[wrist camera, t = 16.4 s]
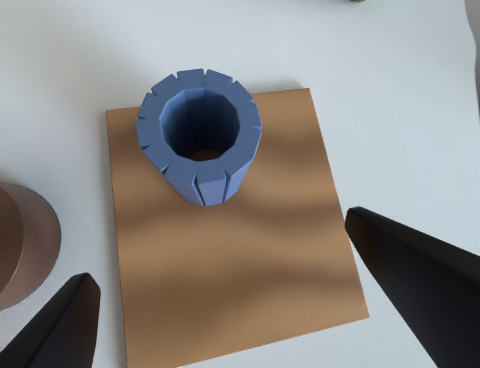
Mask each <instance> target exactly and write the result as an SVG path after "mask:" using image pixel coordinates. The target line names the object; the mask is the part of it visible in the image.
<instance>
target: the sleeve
mask: <svg viewBox="0 0 480 368" xmlns="http://www.w3.org/2000/svg"><path fill="white" fill-rule="evenodd" d="M177 77H178V79H177V78H176V77H175V76H174V75H173V74H171V75H169V76H168V77H166V78H165V79H164V80H162V81H161V82H159V83H158V84H156V85H155V86H153V87H152V88H151V90H152V92H153V94H151V93H147V94H146V96H145V99H144V101H143V103H142V105H141V107H140V109H139V111H138V113H137V116H138V118H139V119H140V120H136V121H135V122H136V129H137V136H138V143H139V147H140V148H141V149H142V150H143V151H142V153H143V154H144V155H145V156H146V158H147V159H148V160H149V161H150V162H151V163H152V165H153V166H154V167H155V168H156V169H157V170H158V171H159V173H160V174H161V175H162V176H163V177H164V178H165V179H166V180H167V181H168V182H169V183H170V184H171V185H172V187H173V188H174V189H175V190H176V191H177V192H178V193H179V194H180V195H181V196H182V197H183V198H184V199H186V200H187V201H188V202H191V203H194V204H197V205H200V206H203V205H204V203H205V206H211V205H216V204H221V203H222V200H223V201H224V202H225V201H226V200H228V199H229V198H230V197H231V196H232V195H233V194H234V193H236V191H237V189H238V188H239V186H240V184H241V182H242V180H243V178H244V176H245V174H246V172H247V170H248V168H249V166H250V164H251V162H252V160H253V158H254V156H255V154H256V151H257V147H258V144H259V141H260V138H261V135H262V132H261V129H262V123H261V119H260V115H259V111H258V107H257V104H256V103H253V101H254V98H253V97H252V96H251V95H250V94H249V93H248V92H247V91H246V89H245V88H244V87H243V86H242V85H241V84H240V83H239V82H238V81H235V82H234V83H233V84H232V81H233V78H232V77H229V76H227V75H224V74H221V73H218V72H215V71H212V70H209V69H208V70H207V73H206V75H205V74H204V70H203V69H195V70H187V71H178V72H177ZM206 149H211V150H214V151H216V152H219V153H221V154H222V155H221V156H220V157H219V158H216V159H211V160H205V161H199V162H196V161H193V160H190V159H188V158H189V157H190V156H191V155H193V154H194V153H195V152H197V151H200V150H206Z"/></svg>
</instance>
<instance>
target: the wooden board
mask: <svg viewBox="0 0 480 368" xmlns="http://www.w3.org/2000/svg"><path fill="white" fill-rule="evenodd" d="M251 96H252V97H253V98H254V101H253V103H256V104H257V107H258V111H259V115H260V119H261V123H262V129H261V132H262V135H261V138H260V141H259V144H258V147H257V151H256V154H255V156H254V158H253V160H252V162H251V164H250V166H249V168H248V170H247V172H246V174H245V176H244V178H243V180H242V182H241V184H240V186H239V188H238V189H237V191H236V193H234V194H233V195H232V196H231V197H230V198H229V199H228V200H226V201H225V202H224V201H223V200H222V203H221V204H216V205H211V206H205V203H204V205H203V206H200V205H197V204H194V203H191V202H188V201H187V200H186V199H184V198H183V197H182V196H181V195H180V194H179V193H178V192H177V191H176V190H175V189H174V188H173V187H172V185H171V184H170V183H169V182H168V181H167V180H166V179H165V178H164V177H163V176H162V175H161V174H160V173H159V171H158V170H157V169H156V168H155V167H154V166H153V165H152V163H151V162H150V161H149V160H148V159H147V158H146V156H145V155H144V154H143V153H142V151H143V150H142V149H141V148H140V147H139V143H138V136H137V129H136V122H135V121H136V120H140V119H139V118H138V116H137V113H138V111H139V109H140V107H134V108H125V109H116V110H107V111H106V116H107V128H108V140H109V152H110V164H111V176H112V188H113V200H114V212H115V224H116V236H117V248H118V260H119V273H120V285H121V297H122V309H123V321H124V333H125V345H126V357H127V368H176V367H180V366H184V365H188V364H192V363H196V362H200V361H203V360H207V359H211V358H215V357H219V356H223V355H227V354H231V353H235V352H238V351H242V350H246V349H250V348H254V347H258V346H262V345H266V344H269V343H273V342H277V341H281V340H285V339H289V338H293V337H297V336H301V335H304V334H308V333H312V332H316V331H320V330H324V329H328V328H332V327H335V326H339V325H343V324H347V323H351V322H355V321H359V320H363V319H366V318H370V316H369V312H368V308H367V305H366V301H365V297H364V293H363V289H362V286H361V282H360V278H359V274H358V271H357V267H356V263H355V259H354V255H353V252H352V248H351V244H350V240H349V237H348V234H347V232H346V230H345V221H344V218H343V214H342V210H341V206H340V203H339V199H338V195H337V191H336V187H335V184H334V180H333V176H332V172H331V169H330V165H329V161H328V157H327V153H326V150H325V146H324V142H323V138H322V135H321V131H320V127H319V123H318V119H317V116H316V112H315V108H314V104H313V100H312V97H311V93H310V89H309V88H306V89H297V90H288V91H279V92H270V93H261V94H252V95H251ZM221 155H222V154H221V153H219V152H216V151H214V150H211V149H206V150H200V151H197V152H195V153H194V154H193V155H191V156H190V157H189V158H188V159H190V160H193V161H196V162H199V161H205V160H211V159H216V158H219V157H220V156H221Z"/></svg>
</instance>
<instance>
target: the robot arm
mask: <svg viewBox="0 0 480 368" xmlns="http://www.w3.org/2000/svg"><path fill="white" fill-rule="evenodd" d="M345 230H346V232H347V234H348V236H349V237H350V239H351V241H352V243H353V244H354V246H355V248H356V250H357V252H358V253H359V255H360V257H361V259H362V260H363V262H364V264H365V265H366V267H367V268H368V270H369V271H370V273H371V274H372V276H373V277H374V278H375V280H376V281H377V283H378V284H379V285H380V287H381V288H382V290H383V291H384V292H385V294H386V295H387V297H388V298H389V300H390V301H391V302H392V304H393V305H394V307H395V308H396V309H397V311H398V312H399V314H400V315H401V316H402V318H403V319H404V321H405V322H406V323H407V325H408V326H409V328H410V329H411V330H412V332H413V333H414V335H415V336H416V338H417V339H418V340H419V342H420V343H421V345H422V346H423V347H424V349H425V350H426V352H427V353H428V354H429V356H430V357H431V359H432V360H433V361H434V363H435V364H436V366H437V367H438V368H480V256H478V255H475V254H473V253H470V252H468V251H466V250H463V249H461V248H458V247H456V246H454V245H451V244H449V243H447V242H444V241H442V240H439V239H437V238H435V237H432V236H430V235H427V234H425V233H423V232H420V231H418V230H415V229H413V228H411V227H408V226H406V225H403V224H401V223H399V222H396V221H394V220H392V219H389V218H387V217H384V216H382V215H380V214H377V213H375V212H372V211H370V210H368V209H365V208H363V207H360V206H358V207H353V208H350V209H348V211H347V215H346V220H345ZM100 296H101V291H100V287H99V286H98V284H97V283H96V282H95V280H94V279H93V277H92V276H91V275H90V274H89V273H81V274H77V275H74V276H72V277H71V278H70V279H69V280H68V281H67V282H66V283H65V284H64V285H63V286H62V287H61V288H60V290H59V291H58V292H57V293H56V294H55V295H54V296H53V297H52V298H51V299H50V300H49V301H48V302H47V303H46V304H45V306H44V307H43V308H42V309H41V310H40V311H39V312H38V313H37V314H36V315H35V316H34V317H33V318H32V319H31V320H30V322H29V323H28V324H27V325H26V326H25V327H24V328H23V329H22V330H21V331H20V332H19V333H18V334H17V335H16V336H15V338H14V339H13V340H12V341H11V342H10V343H9V344H8V345H7V346H6V347H5V348H4V349H3V350H2V351H1V352H0V368H91V367H92V362H93V357H94V352H95V346H96V339H97V330H98V318H99V307H100Z"/></svg>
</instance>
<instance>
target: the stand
mask: <svg viewBox="0 0 480 368" xmlns="http://www.w3.org/2000/svg"><path fill="white" fill-rule="evenodd" d="M60 245H61V229H60V224H59V220H58V217H57V215H56V213H55V211H54V210H53V208H52V206H51V205H50V204H49V203H48V202H47V201H46V200H45V199H44V198H43V197H42V196H40V195H39V194H37V193H36V192H34V191H32V190H29V189H27V188H23V187H20V186H16V185H12V184H7V183H3V182H0V311H1V310H3V309H6V308H9V307H11V306H13V305H15V304H17V303H19V302H21V301H22V300H24V299H25V298H26V297H28V296H29V295H30V294H32V293H33V292H34V291H35V290H36V289H37V288H38V287H39V286H40V285H41V284H42V283H43V282H44V280H45V279H46V278H47V276H48V275H49V274H50V272H51V270H52V268H53V267H54V264H55V262H56V260H57V257H58V254H59V251H60Z"/></svg>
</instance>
